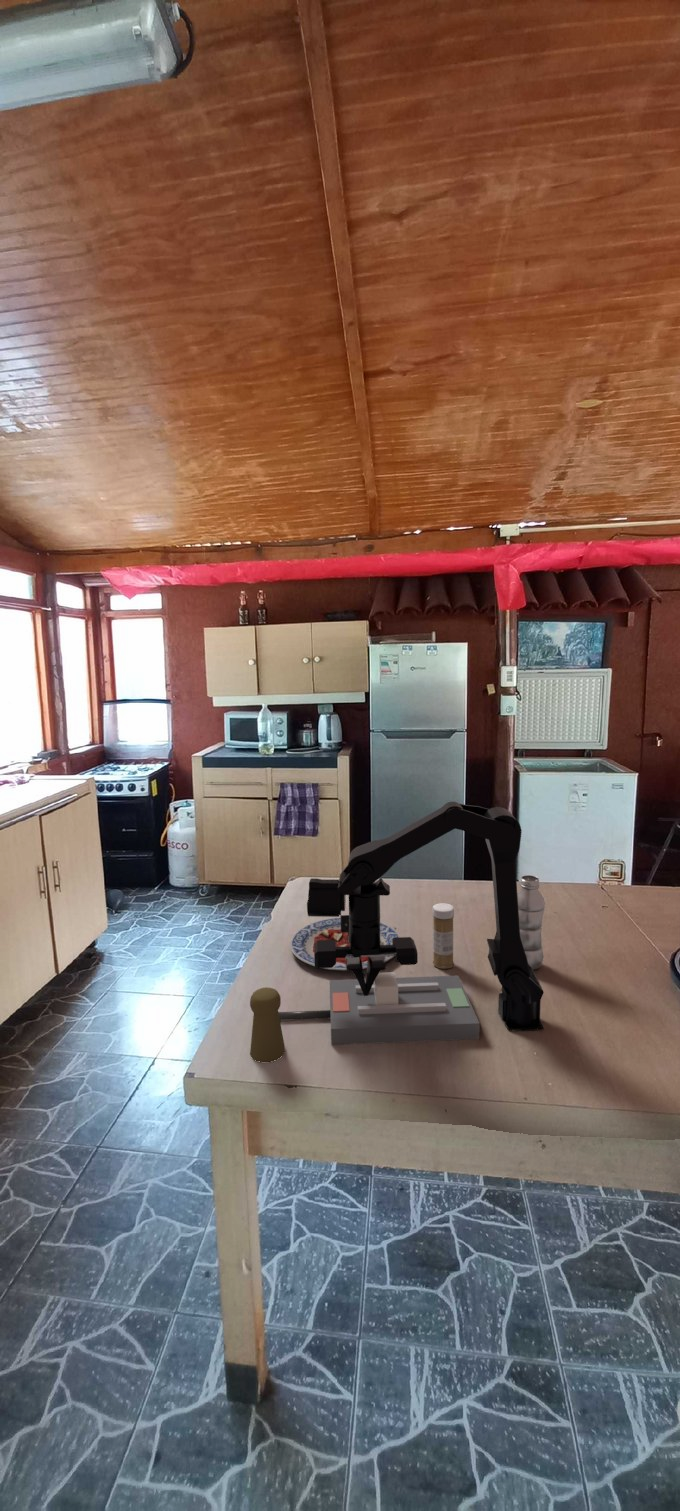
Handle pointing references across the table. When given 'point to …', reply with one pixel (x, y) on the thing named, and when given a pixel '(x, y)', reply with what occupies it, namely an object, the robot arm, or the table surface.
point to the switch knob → (386, 989)
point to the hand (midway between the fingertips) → (365, 994)
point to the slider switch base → (398, 1012)
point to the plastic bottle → (531, 919)
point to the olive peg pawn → (266, 1026)
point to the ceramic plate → (331, 930)
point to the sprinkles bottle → (443, 935)
